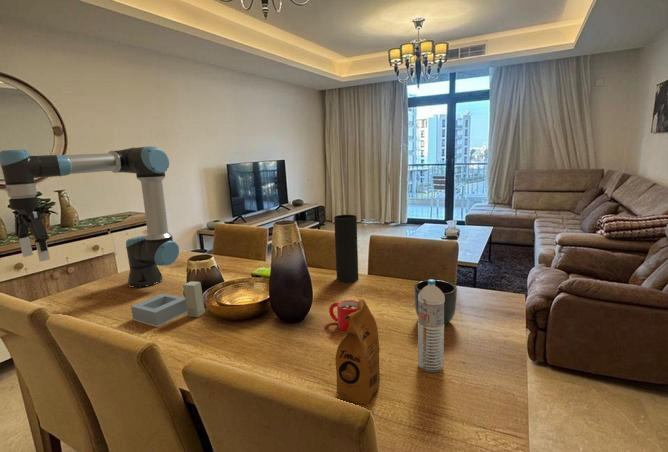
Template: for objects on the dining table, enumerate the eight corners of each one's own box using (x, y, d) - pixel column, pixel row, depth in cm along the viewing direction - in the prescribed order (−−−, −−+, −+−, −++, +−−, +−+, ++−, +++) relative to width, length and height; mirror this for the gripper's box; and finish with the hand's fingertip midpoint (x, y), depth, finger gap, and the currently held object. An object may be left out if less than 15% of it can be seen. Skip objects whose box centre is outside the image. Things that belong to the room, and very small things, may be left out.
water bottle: (414, 360, 104) (414, 276, 99) (438, 358, 105) (439, 275, 100) (422, 374, 98) (422, 285, 93) (447, 372, 98) (449, 283, 93)
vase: (358, 282, 168) (356, 218, 162) (336, 283, 168) (334, 219, 162) (357, 275, 178) (355, 214, 172) (336, 276, 178) (334, 215, 172)
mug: (335, 317, 134) (334, 296, 133) (364, 323, 128) (364, 302, 127) (323, 326, 128) (322, 304, 126) (354, 333, 122) (353, 311, 120)
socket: (165, 306, 151) (163, 293, 150) (189, 311, 144) (187, 298, 143) (133, 320, 139) (131, 306, 138) (157, 327, 132) (155, 312, 131)
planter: (411, 328, 123) (411, 292, 120) (417, 311, 136) (417, 278, 133) (455, 334, 118) (456, 296, 116) (456, 315, 131) (457, 281, 128)
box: (205, 313, 142) (201, 281, 140) (198, 318, 138) (193, 285, 136) (194, 311, 144) (190, 280, 141) (186, 316, 140) (182, 284, 137)
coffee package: (330, 398, 90) (326, 314, 86) (350, 371, 101) (348, 295, 96) (368, 409, 86) (365, 322, 81) (385, 379, 96) (384, 300, 92)
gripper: (-5, 197, 126) (8, 256, 131) (24, 199, 113) (38, 265, 118) (21, 194, 133) (34, 251, 137) (52, 196, 120) (65, 259, 124)
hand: (36, 258), depth 127 cm, fingers open, 13 cm apart
